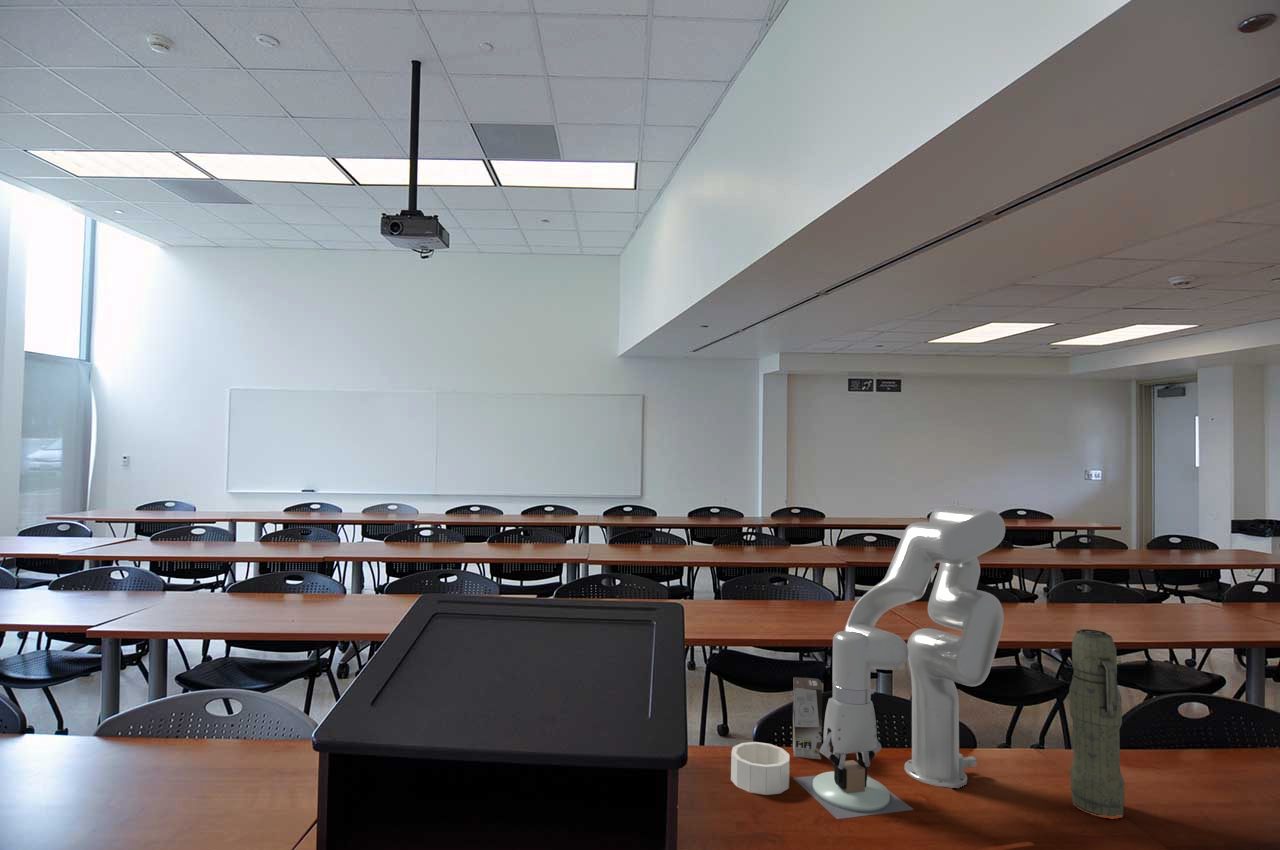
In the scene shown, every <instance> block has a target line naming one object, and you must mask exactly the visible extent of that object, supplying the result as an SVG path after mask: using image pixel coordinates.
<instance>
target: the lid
mask: <svg viewBox="0 0 1280 850" xmlns="http://www.w3.org/2000/svg"><path fill="white" fill-rule="evenodd" d="M855 761H856V760H854V759H852V760H851V759H850V760H845V764H844V768H845V769H846V789H844V790H843V789H842V788H840V787H839V786H838V785H837V784H836V783H835V780H834V770H833V771H832V770H831V771H826V772H822V773H819V774H817V776H816V775H815V776H816V777H815V778H814V780H813V790H814V792H815V794H816V795H817V796H818V797H819V798H820V799H822V800H823V801H825V802H827V803H829V804H831V805H833V806H836V807H839V808H842V809H847V810H852V811H860V812H870V811H877V810H881V809H883V808H885V807H886V806H887V805H888V804H889V801H890V795H889V791H890V790H889V789H888V788H887V787H886V786H885V785H884V784H882V783H881V782H879V781H878V780H876V779H874V778H873V779H872V777H871V778H869V777H867V784H866V787H865V768H864V767H862V766H861V765H859V764H858V763H857V762H855ZM888 790H889V791H888Z"/></svg>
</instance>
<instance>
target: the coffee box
mask: <svg viewBox="0 0 1280 850" xmlns="http://www.w3.org/2000/svg"><path fill="white" fill-rule="evenodd" d="M792 684H793V690H792V693H793V694H792V695H793V699H792V749H793V757H797V758H805V759H813V760H814V759H815V760H822V753H820V748H821V746H822V740H823V739H822V737H823V736H822V732H823V731H822V730H823V729H822V727H823V726H822V725H823V712H822V711H823V687H822V685H821V680H820V679H819V678H812V677H796V676H794V677H793V683H792Z"/></svg>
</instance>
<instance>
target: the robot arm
mask: <svg viewBox="0 0 1280 850" xmlns="http://www.w3.org/2000/svg"><path fill="white" fill-rule="evenodd" d="M1005 534H1006V524H1005V521H1004V519H1003V517H1002V516H1001V515H1000V514H998V513H997V512H996V511H994V510H991V509H985V508H972V507H971V508H970V507H962V506H960V507H958V506H944V507H943V506H942V507H938V508H936V509H934V510H933V511H932V512H931V514H930V515H929V522H928V521H917V522H913V523H911V524H908V525H907V526H906V527H905V529H904V531H903V533H902V536H901V538H900V541H899V543H898V545H897V547H896V550H895V553H894V555H893V557H892V559H891V562H890V564H889V566H888V569H887V572H886V573H885V576H884V578H882V580H881V581H880V582H878V583H877V584H876V585H874V586H873V587H871V588H870V589H869V590H868V591H867V592H865V593H864V594H863V595H862V596H861V597H860V599H858V600H857V602H856V603H855V604H854V606H853V608H852V610H851V612H850V614H849V616H848V619H847V621H846V624H845V626H844V630H841V631H838V632H836V633H835V634H834V635H833V637H832V685H831V686H832V691H831V692H832V696H831V697H829V698H828V701H827V704H826V709H825V712H824V713H825V714H824V715H825V716H824V723H823V743H821V748H820V753H821V755H823V756H824V757H825V758H827V759H828V760H829V761H830V762H831V764H832V765H834V769H833V771H834V780H835V783H836V784H837V785H838V786H839V787H840V788H842V789H843V790H844V789H846V769H845V768H844V764H845V761H846V758H847V754H855V755H856V760H854V761H855V762H857V763H858V764H859V765H861V766H862V767H864V768H865V787H866V784H867V775H868V767H870V765H871V761H872V760H873V758H874V757H875V755H876V754H878V753H879V751H881V750H882V745H881V743H880V741H879V740H878V738H877V722H876V714H875V713H876V712H875V708H874V704H873V701H872V700H871V698H872V694H874V693H875V691H876V690H875V688H874V686H871V670H872V669H875V670H886V671H888V670H889V671H892V670H897V669H899V668H901V667H902V666H904V664H905V663H906V662H907V660H908V664H909V669H910V676H911V677H910V679H911V759H908V760H907V761H906V762H905V763H904V771H905V772H906V774H907V775H908V776H910V777H911V778H913V779H915V780H916V781H919V782H921V783H924V784H927V785H931V786H935V787H941V788H949V789H951V788H956V789H961V788H962V786H963V787H964V785H967V783H968V776H967V774H966V773H965V771H964V770H965V769H966V768H967V767H969V768H971V767H977V765H978V761H977V758H976V757H974V756H966V757H964V755H963V754H962V753H960V725H959V724H960V721H959V720H960V715H959V714H960V713H959V711H960V701H959V693H958V690H957V687H956V684H955V683H957V684H961V685H964V686H967V687H977V686H980V685H982V684H983V683H984V682H985V681H986V679H987V678H988V676H989V674H990V672H991V669H992V665H993V663H994V662H993V661H994V660H995V655H996V652H997V648H998V646H999V643H1000V638H1001V635H1002V631H1003V627H1004V621H1005V619H1004V618H1005V617H1004V616H1005V615H1004V610H1003V606H1002V604H1001V602H1000V600H999V599H998V597H996V596H995V595H994V594H992V593H990V592H987V591H985V590H984V591H983V590H979V589H977V588H978V584H979V581H980V576H981V565H980V562H979V559H978V557H980V556H981V555H983V554H985V553H987V552H989V551H991V550H993V549H995V548H997V547H998V546H999V545H1000V544H1001V543H1002V541H1003V540H1004V538H1005ZM937 563H939V566H938V570H937V574H936V577H935V579H934V584H933V587H932V590H931V593H930V596H929V599H928V604H927V613H928V616H929V618H930V619H931V620H932V621H933V622H934V623H936V624H938V625H941V626H943V627H946V628H949V629H953V630H956V631H960V632H962V635H956V634H953V633H950V632H947V631H944V630H939V629H934V628H928V627H926V628H924V627H923V628H919V629H917V630H915V631H914V632H912V633H911V634H910V636H909V637H908V639H907V643H906V641H905V640H904V639H903V637H901V636H899V635H897V634H895V633H894V632H890V631H886V630H883V629H880V628H877V627H875V626H876V624H877V622H878V620H879V619H880V618H881V617H882V616H883V615H884V614H885V613H887V611H889V610H890V609H893V608H895V607H897V606H901V605H904V604H908V603H911V602H916V601H917V600H920V599H922V597H923V596H924V594H925V593H926V589H927V587H928V584H929V582H930V579H931V577H932V575H933V572H934V570H935V567H936V564H937ZM832 747H833V751H832V752H831V749H832ZM960 787H961V788H960Z"/></svg>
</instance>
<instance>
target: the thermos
mask: <svg viewBox="0 0 1280 850" xmlns="http://www.w3.org/2000/svg"><path fill="white" fill-rule="evenodd" d="M1117 661H1118V659H1117V648H1116V645H1115V642H1114V640H1113V636H1111V635H1110V634H1108V633H1107V632H1106V631H1101V630H1096V629H1088V628H1087V629H1086V628H1085V629H1084V628H1083V629H1079V630H1076V632H1075V633H1074V637H1073V638H1072V642H1071V662H1072V664H1071V666H1072V668H1073V673H1072V676H1071V677H1072V679H1071V683H1070V685H1069V691H1068V694H1069V696H1068V697H1069V700H1068V701H1069V715H1070V717H1071V720H1072V756H1073V757H1072V759H1073V761H1072V763H1071V765H1070V791H1071V793H1072V794H1071V795H1072V796H1071V803H1072V802H1073V803H1074V804H1075V805H1076V806H1077V807H1079V808H1081V809H1083V810H1084V811H1087V812H1089V813H1093V814H1096V815H1107V816H1116V815H1124V816H1125V813H1124V804H1125V780H1124V777H1123V775H1122V773H1121V748H1120V747H1121V745H1120V741H1121V740H1120V739H1121V738H1120V729H1121V726H1122V725H1123V712H1122V711H1123V710H1122V709H1123V706H1122V696H1121V693H1120V690H1119V687H1118V680H1117V678H1118V676H1117V675H1118V665H1117V664H1118V662H1117Z"/></svg>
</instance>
